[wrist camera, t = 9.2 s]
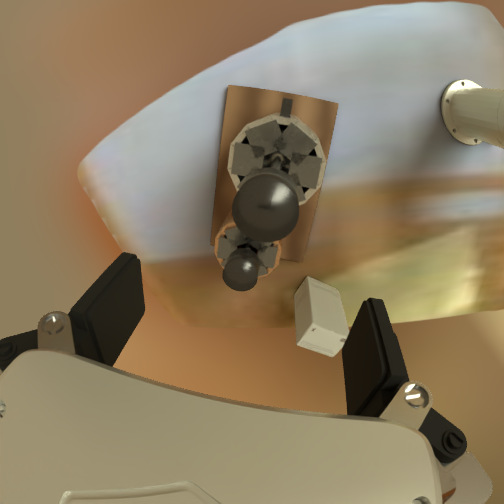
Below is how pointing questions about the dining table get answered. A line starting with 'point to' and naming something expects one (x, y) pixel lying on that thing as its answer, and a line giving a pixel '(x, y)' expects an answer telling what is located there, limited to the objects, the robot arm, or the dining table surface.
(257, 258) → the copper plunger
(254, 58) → the dining table surface
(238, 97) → the walnut board
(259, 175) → the steel plunger
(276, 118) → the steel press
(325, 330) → the skincare box
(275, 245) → the copper press
